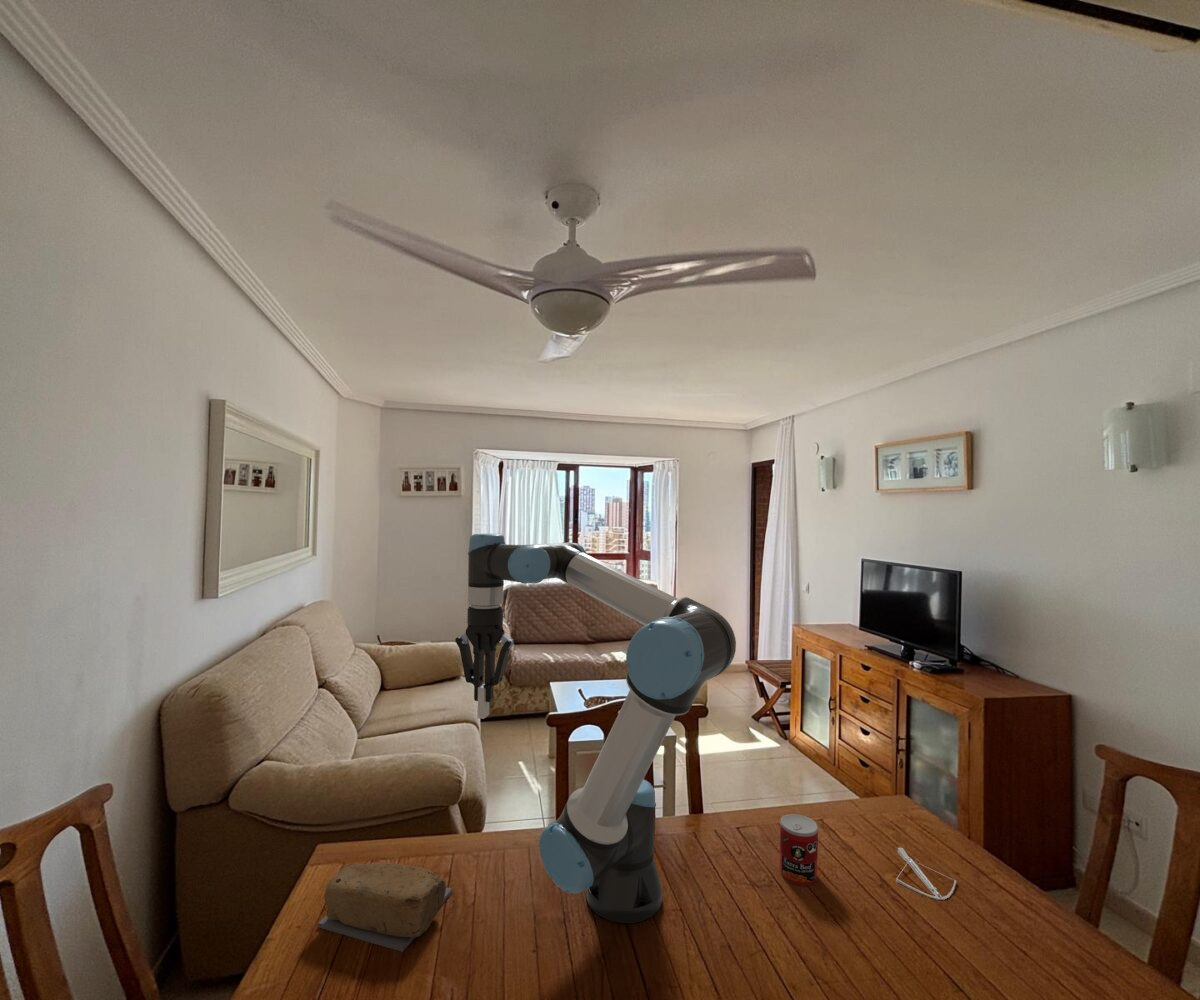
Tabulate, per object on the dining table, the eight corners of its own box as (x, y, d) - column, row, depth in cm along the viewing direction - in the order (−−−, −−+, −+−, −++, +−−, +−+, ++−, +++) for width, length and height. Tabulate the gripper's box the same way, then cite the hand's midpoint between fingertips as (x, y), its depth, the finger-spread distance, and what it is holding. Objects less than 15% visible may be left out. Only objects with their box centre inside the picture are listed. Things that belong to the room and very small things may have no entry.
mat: (452, 892, 114) (452, 888, 114) (402, 951, 98) (402, 947, 98) (376, 873, 119) (376, 870, 119) (318, 927, 103) (318, 922, 103)
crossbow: (971, 907, 115) (972, 897, 115) (909, 905, 116) (910, 895, 115) (927, 854, 131) (927, 845, 131) (872, 852, 132) (872, 844, 131)
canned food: (778, 880, 120) (779, 828, 120) (781, 859, 127) (782, 810, 128) (816, 890, 117) (817, 837, 117) (817, 868, 125) (818, 818, 125)
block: (418, 903, 98) (319, 884, 103) (418, 947, 98) (319, 926, 103) (449, 865, 109) (358, 850, 114) (448, 904, 109) (357, 887, 113)
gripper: (520, 604, 124) (518, 713, 123) (465, 601, 127) (463, 707, 126) (507, 610, 117) (505, 725, 116) (449, 606, 120) (446, 719, 119)
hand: (483, 716), depth 121 cm, fingers closed
